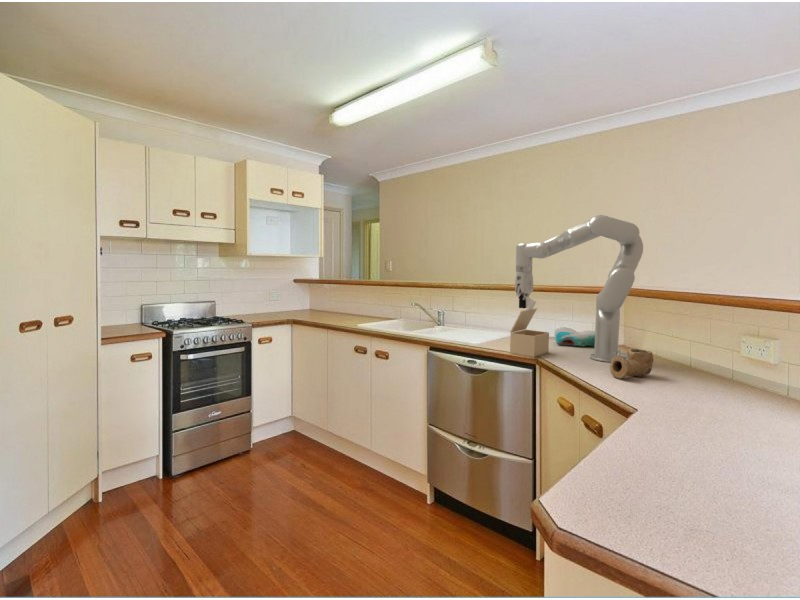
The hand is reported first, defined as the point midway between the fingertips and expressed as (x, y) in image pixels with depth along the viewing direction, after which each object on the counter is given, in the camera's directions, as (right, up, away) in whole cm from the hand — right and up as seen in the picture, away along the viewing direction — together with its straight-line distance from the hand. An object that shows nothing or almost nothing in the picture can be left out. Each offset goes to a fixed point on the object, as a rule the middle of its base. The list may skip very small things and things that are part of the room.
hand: (523, 307), depth 196 cm
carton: (+3, -22, -1) cm, 22 cm away
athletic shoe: (+35, -21, +17) cm, 44 cm away
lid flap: (+1, -4, -1) cm, 4 cm away
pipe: (+29, -26, -41) cm, 56 cm away
